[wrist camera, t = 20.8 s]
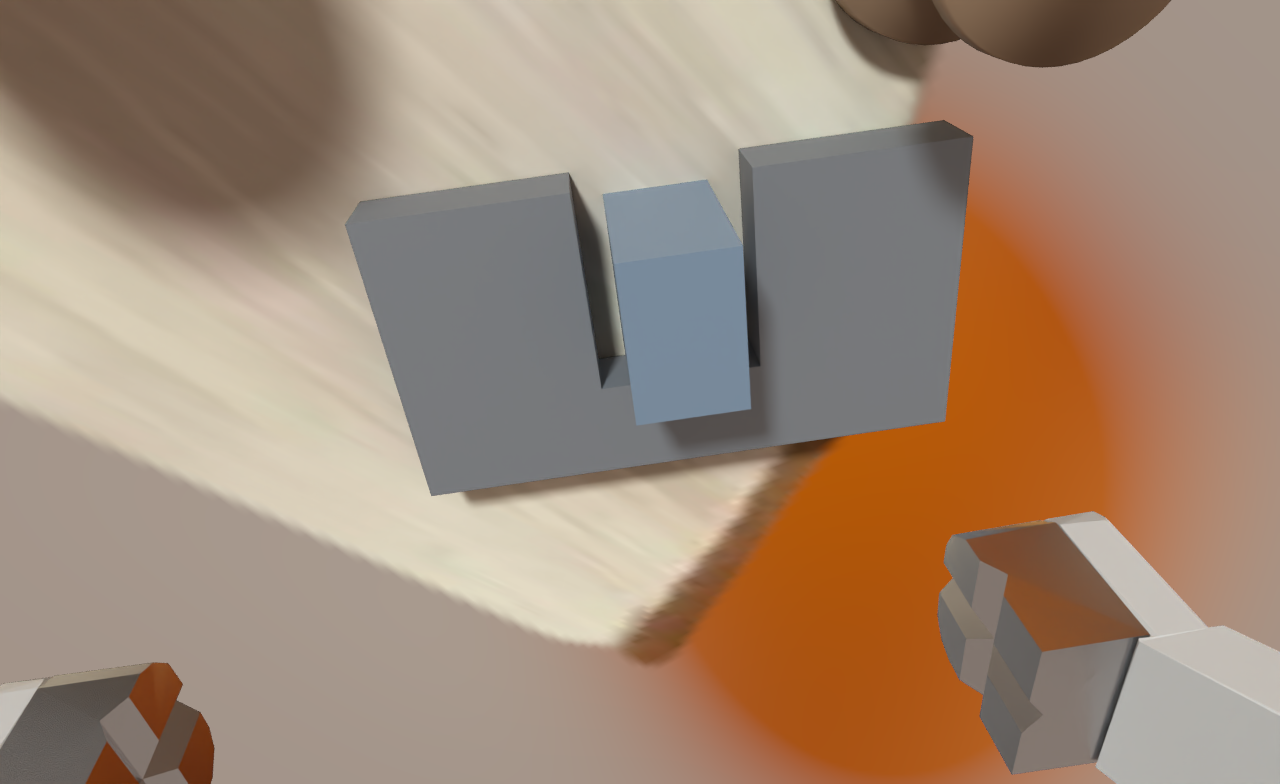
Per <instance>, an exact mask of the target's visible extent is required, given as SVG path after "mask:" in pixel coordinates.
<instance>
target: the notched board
mask: <svg viewBox="0 0 1280 784" xmlns="http://www.w3.org/2000/svg"><path fill="white" fill-rule="evenodd" d="M972 145H973V136H971V135H970V134H968V133H966V132H964V131H963V130H961V129H959V128H957V127H955V126H954V125H952V124H950V123H948V122H946V121H945V120H942V121H935V122H928V123H920V124H913V125H906V126H899V127H892V128H885V129H877V130H870V131H863V132H856V133H849V134H842V135H834V136H827V137H820V138H813V139H806V140H799V141H791V142H784V143H777V144H770V145H763V146H756V147H748V148H741V149H739V168H740V188H741V207H742V227H743V247H744V267H745V287H746V307H747V327H748V357H749V377H750V397H751V409H748V410H741V411H734V412H727V413H720V414H714V415H707V416H700V417H693V418H686V419H679V420H672V421H665V422H658V423H651V424H644V425H637V426H636V420H635V413H634V407H633V400H632V393H631V387H630V380H629V374H628V367H627V361H626V355H624V356H617V357H610V358H603V359H599V357H598V351H597V345H596V339H595V332H594V326H593V320H592V314H591V308H590V301H589V295H588V289H587V283H586V277H585V271H584V264H583V258H582V252H581V246H580V240H579V233H578V227H577V221H576V215H575V209H574V203H573V196H572V190H571V184H570V178H569V173H562V174H555V175H548V176H541V177H534V178H527V179H519V180H512V181H505V182H498V183H491V184H484V185H476V186H469V187H462V188H455V189H448V190H441V191H433V192H426V193H419V194H412V195H405V196H398V197H390V198H383V199H376V200H369V201H362V202H360V203H359V204H358V206H357V207H356V209H355V210H354V212H353V213H352V215H351V216H350V218H349V219H348V221H347V222H346V224H345V226H346V229H347V232H348V235H349V239H350V242H351V245H352V248H353V251H354V254H355V257H356V261H357V264H358V267H359V270H360V273H361V276H362V279H363V283H364V286H365V289H366V292H367V295H368V298H369V301H370V305H371V308H372V311H373V314H374V317H375V320H376V323H377V327H378V330H379V333H380V336H381V339H382V342H383V345H384V349H385V352H386V355H387V358H388V361H389V364H390V367H391V371H392V374H393V377H394V380H395V383H396V386H397V389H398V393H399V396H400V399H401V402H402V405H403V408H404V411H405V415H406V418H407V421H408V424H409V427H410V430H411V433H412V437H413V440H414V443H415V446H416V449H417V452H418V455H419V459H420V462H421V465H422V468H423V471H424V474H425V478H426V481H427V484H428V487H429V490H430V493H431V496H435V495H442V494H449V493H456V492H463V491H470V490H477V489H483V488H490V487H497V486H504V485H511V484H518V483H525V482H531V481H538V480H545V479H552V478H559V477H566V476H573V475H580V474H586V473H593V472H600V471H607V470H614V469H621V468H628V467H634V466H641V465H648V464H655V463H662V462H669V461H676V460H683V459H689V458H696V457H703V456H710V455H717V454H724V453H731V452H738V451H744V450H751V449H758V448H765V447H772V446H779V445H786V444H792V443H799V442H806V441H813V440H820V439H827V438H834V437H841V436H847V435H854V434H861V433H867V432H875V431H881V430H888V429H895V428H902V427H909V426H916V425H922V424H930V423H937V422H944V421H945V416H946V406H947V395H948V385H949V376H950V365H951V356H952V345H953V336H954V325H955V316H956V305H957V294H958V284H959V276H960V266H961V255H962V245H963V235H964V225H965V215H966V205H967V195H968V185H969V175H970V164H971V155H972Z"/></svg>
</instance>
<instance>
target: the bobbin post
mask: <svg viewBox="0 0 1280 784" xmlns="http://www.w3.org/2000/svg"><path fill="white" fill-rule="evenodd" d="M835 1H836V2H837V4H838V5H839V6H840V7H841V8H842V9H843V10H844V12H845V13H846V14H848V15H849V16H850V17H851V18H852V19H853V20H855V21H856V22H857V23H859V24H861V25H862V26H864V27H866V28H867V29H869V30H871V31H874V32H876V33H879V34H881V35H884V36H886V37H889V38H891V39H894V40H896V41H900V42H904V43H909V44H918V45H934V44H943V43H948V42H953V41H957V40H960V39H962V40H963V41H964V42H965V43H967V44H969V45H970V46H972V47H973V48H975V49H976V50H978V51H981V52H983V53H985V54H988V55H991V56H993V57H996V58H999V59H1002V60H1004V61H1007V62H1010V63H1014V64H1018V65H1023V66H1030V67H1056V66H1063V65H1068V64H1073V63H1078V62H1081V61H1083V60H1086V59H1089V58H1092V57H1095V56H1097V55H1099V54H1101V53H1104V52H1106V51H1108V50H1110V49H1112V48H1114V47H1115V46H1117V45H1119V44H1120V43H1122V42H1123V41H1125V40H1127V39H1128V38H1130V37H1131V36H1133V35H1134V34H1135V33H1136V32H1138V31H1139V30H1140V29H1142V28H1143V27H1144V26H1146V25H1147V24H1148V23H1149V22H1150V21H1151V20H1152V19H1153V18H1154V17H1155V16H1157V15H1158V14H1159V13H1160V12H1161V11H1162V10H1163V9H1164V7H1166V5H1167V4H1168V3H1169V2H1170V1H1171V0H835Z"/></svg>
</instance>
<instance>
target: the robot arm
mask: <svg viewBox="0 0 1280 784" xmlns="http://www.w3.org/2000/svg"><path fill="white" fill-rule="evenodd" d="M944 564H945V565H946V567H947V569H948V570H949V572H950V573H951V575H952V577H953V579H952V580H951V581H950V582H949V583H948V584H947V585H946V586H945V587H944V588H943V590H942V591H941V592H940V594H939V605H938V621H939V627H940V633H941V638H942V642H943V645H944V648H945V650H946V653H947V656H948V658H949V661H950V663H951V664H952V666H953V668H954V670H955V672H956V674H957V676H958V678H959V680H961V681H962V682H964V683H966V684H967V685H968V686H970V687H972V688H973V689H975V690H976V691H978V692H980V693H981V694H982V695H983V700H982V706H981V711H980V718H981V720H982V722H983V723H984V725H985V727H986V729H987V731H988V732H989V734H990V736H991V738H992V740H993V741H994V743H995V745H996V747H997V749H998V750H999V752H1000V754H1001V756H1002V758H1003V759H1004V761H1005V763H1006V765H1007V767H1008V768H1009V770H1010V772H1011V774H1019V773H1026V772H1033V771H1039V770H1047V769H1054V768H1061V767H1068V766H1075V765H1081V764H1089V763H1095V762H1097V764H1096V768H1097V769H1099V770H1100V771H1101V772H1102V773H1104V774H1105V775H1106V776H1108V777H1109V778H1110V779H1112V780H1113V781H1114V782H1115V783H1117V784H1280V652H1279V651H1277V650H1275V649H1273V648H1270V647H1268V646H1266V645H1264V644H1262V643H1260V642H1258V641H1256V640H1253V639H1251V638H1249V637H1247V636H1245V635H1243V634H1241V633H1238V632H1236V631H1235V630H1232V629H1230V628H1228V627H1226V626H1224V625H1221V626H1213V627H1207V626H1206V624H1205V623H1204V622H1203V621H1202V620H1201V619H1200V618H1199V617H1198V616H1197V615H1196V614H1195V613H1194V612H1193V610H1192V609H1191V608H1190V607H1189V606H1188V605H1187V604H1186V603H1185V602H1184V601H1183V600H1182V599H1181V598H1180V597H1179V595H1177V593H1176V592H1175V591H1174V590H1173V589H1172V588H1171V587H1170V586H1169V585H1168V584H1167V583H1166V582H1165V581H1164V580H1163V578H1162V577H1161V576H1160V575H1159V574H1158V573H1157V572H1156V571H1155V570H1154V569H1153V568H1152V567H1151V565H1149V563H1148V562H1147V561H1145V559H1144V558H1143V557H1142V556H1141V555H1140V554H1139V553H1138V552H1137V551H1136V549H1135V548H1134V547H1133V546H1132V545H1131V544H1130V543H1129V542H1128V541H1127V540H1126V539H1125V538H1124V537H1123V536H1122V534H1121V533H1120V532H1119V531H1118V530H1117V529H1116V528H1115V527H1114V526H1113V525H1112V524H1111V523H1110V522H1109V521H1108V519H1106V518H1105V517H1104V516H1102V515H1100V514H1098V513H1095V512H1093V511H1092V512H1087V513H1081V514H1075V515H1069V516H1063V517H1057V518H1051V519H1046V520H1044V521H1040V520H1039V521H1033V522H1026V523H1021V524H1015V525H1009V526H1003V527H997V528H991V529H985V530H979V531H973V532H967V533H961V534H956V535H953V536H952V537H951V539H950V540H949V542H948V543H947V545H946V551H945V558H944ZM182 685H183V684H182V682H181V681H180V679H179V678H178V676H177V675H176V674H175V673H174V671H173V669H172V668H171V666H170V665H169V664H168V663H147V664H139V665H132V666H124V667H117V668H109V669H102V670H94V671H86V672H79V673H71V674H64V675H57V676H54V677H48V678H41V679H33V680H26V681H19V682H11V683H4V684H2V685H1V686H0V784H211V781H212V777H213V760H214V745H213V740H212V736H211V732H210V728H209V726H208V725H207V723H206V721H205V719H204V718H203V716H202V714H201V713H200V712H199V711H197V710H195V709H193V708H191V707H189V706H187V705H185V704H183V703H181V702H179V701H177V697H178V695H179V693H180V690H181V688H182Z"/></svg>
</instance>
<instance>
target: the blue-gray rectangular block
mask: <svg viewBox="0 0 1280 784" xmlns="http://www.w3.org/2000/svg"><path fill="white" fill-rule="evenodd" d="M603 200H604V207H605V214H606V221H607V228H608V235H609V242H610V250H611V257H612V264H613V271H614V278H615V285H616V292H617V299H618V306H619V313H620V321H621V328H622V335H623V341H624V348H625V354H626V361H627V367H628V374H629V380H630V387H631V393H632V400H633V407H634V413H635V420H636V426H637V425H644V424H651V423H658V422H665V421H672V420H679V419H686V418H693V417H700V416H707V415H714V414H720V413H727V412H734V411H741V410H748V409H751V397H750V377H749V357H748V337H747V317H746V297H745V276H744V256H743V245H742V243H741V241H740V239H739V238H738V236H737V234H736V232H735V230H734V228H733V227H732V225H731V223H730V221H729V219H728V217H727V216H726V214H725V212H724V210H723V208H722V206H721V205H720V203H719V201H718V199H717V197H716V195H715V194H714V192H713V190H712V188H711V186H710V184H709V183H708V181H707V180H701V181H694V182H687V183H680V184H672V185H665V186H658V187H651V188H644V189H637V190H629V191H622V192H615V193H608V194H603Z"/></svg>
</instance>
